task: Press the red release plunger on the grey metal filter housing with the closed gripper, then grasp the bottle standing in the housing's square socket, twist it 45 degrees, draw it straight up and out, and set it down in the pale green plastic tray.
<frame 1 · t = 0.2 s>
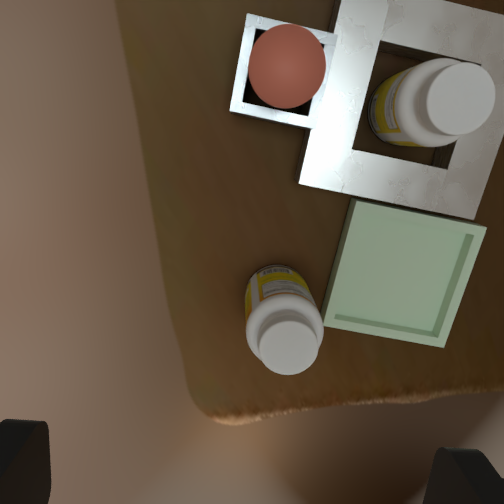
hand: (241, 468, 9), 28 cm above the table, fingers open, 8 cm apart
supplement bottle: (399, 109, 34), resting in housing
plunger: (283, 73, 28), point 5 cm above the table, slide at 0.0 cm
supplement bottle 2: (276, 291, 38), on the table
housing: (400, 109, 34), on the table
tray: (395, 271, 37), on the table
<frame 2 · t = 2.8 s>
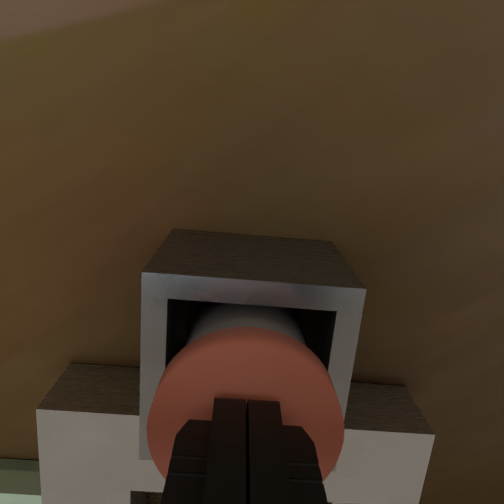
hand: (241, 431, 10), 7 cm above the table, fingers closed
plunger: (245, 371, 13), point 5 cm above the table, slide at 0.7 cm, touching gripper
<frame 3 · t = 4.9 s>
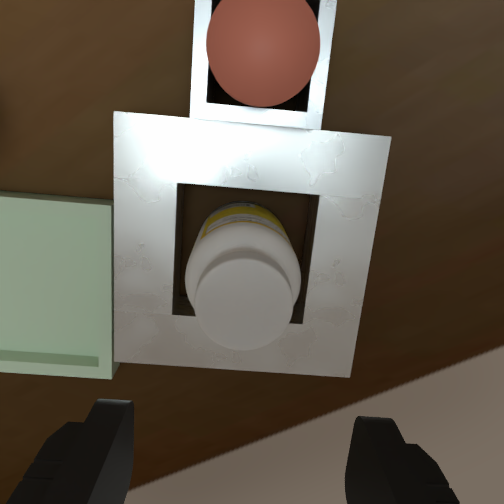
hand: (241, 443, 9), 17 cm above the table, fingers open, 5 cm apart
supplement bottle: (243, 241, 26), resting in housing
plunger: (260, 56, 20), point 4 cm above the table, slide at 1.4 cm
housing: (243, 242, 26), on the table
tray: (31, 280, 27), on the table
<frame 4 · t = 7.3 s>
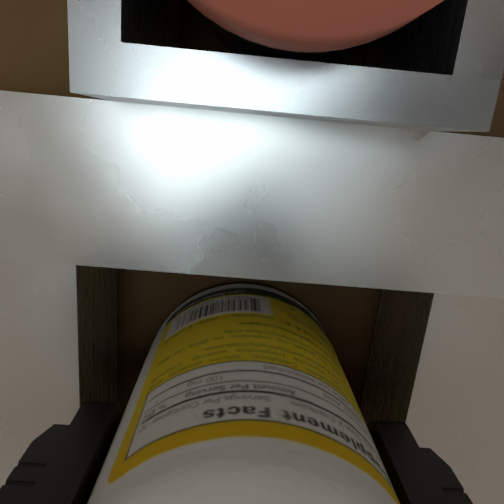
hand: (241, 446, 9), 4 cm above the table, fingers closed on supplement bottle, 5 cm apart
supplement bottle: (243, 359, 13), resting in housing, touching gripper
housing: (243, 362, 13), on the table
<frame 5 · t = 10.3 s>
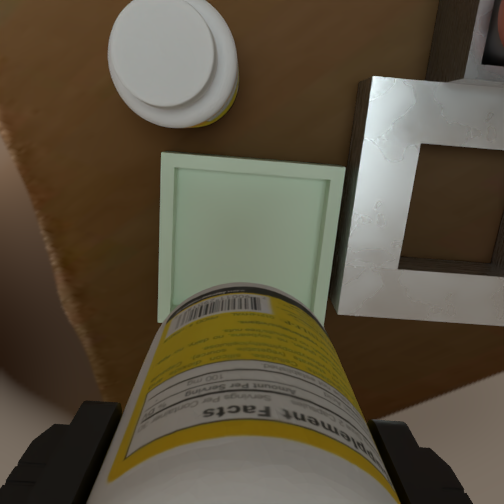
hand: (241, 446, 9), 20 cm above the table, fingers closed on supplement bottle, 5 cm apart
supplement bottle: (243, 358, 13), point 16 cm above the table, touching gripper
supplement bottle 2: (194, 80, 26), on the table
housing: (448, 205, 28), on the table
tray: (246, 241, 29), on the table
when the fingers open (6 cm above the table, at t = 13.4 s): supplement bottle drops 1 cm, resting on tray.
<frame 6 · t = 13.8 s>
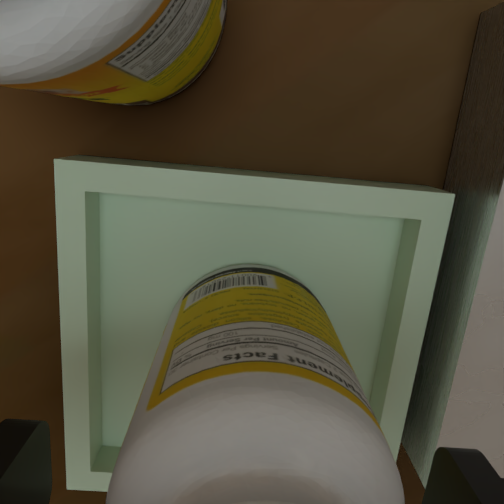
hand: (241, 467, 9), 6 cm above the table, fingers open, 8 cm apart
supplement bottle: (249, 333, 14), resting on tray
supplement bottle 2: (132, 7, 12), on the table
tray: (242, 329, 15), on the table
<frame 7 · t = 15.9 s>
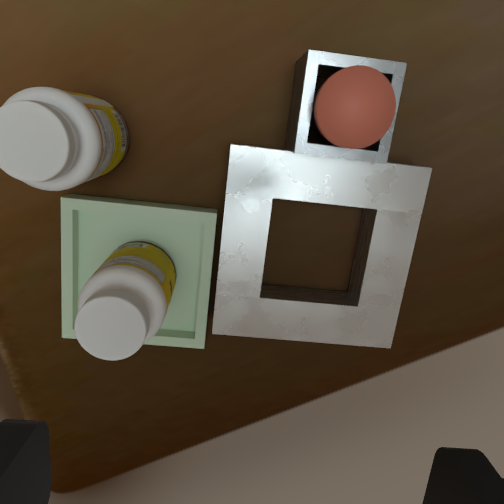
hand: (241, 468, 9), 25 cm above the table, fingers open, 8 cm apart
supplement bottle: (143, 270, 33), resting on tray
plunger: (344, 109, 27), point 4 cm above the table, slide at 1.4 cm
supplement bottle 2: (92, 136, 31), on the table
housing: (309, 243, 34), on the table
tray: (141, 269, 34), on the table
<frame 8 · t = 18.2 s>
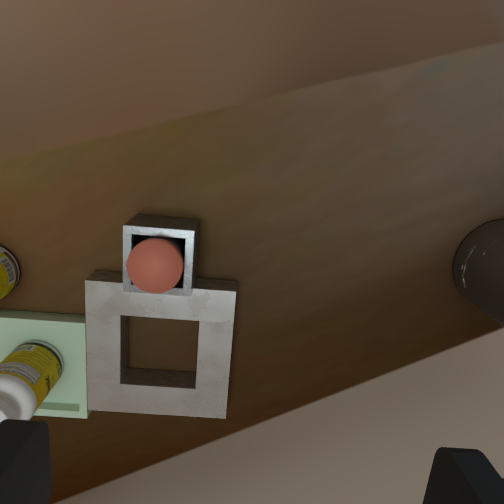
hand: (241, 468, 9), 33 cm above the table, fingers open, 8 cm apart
supplement bottle: (40, 361, 44), resting on tray
plunger: (160, 258, 38), point 4 cm above the table, slide at 1.4 cm
housing: (164, 338, 44), on the table
tray: (39, 359, 45), on the table
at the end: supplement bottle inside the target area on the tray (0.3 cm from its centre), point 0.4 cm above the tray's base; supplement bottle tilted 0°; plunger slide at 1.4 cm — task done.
